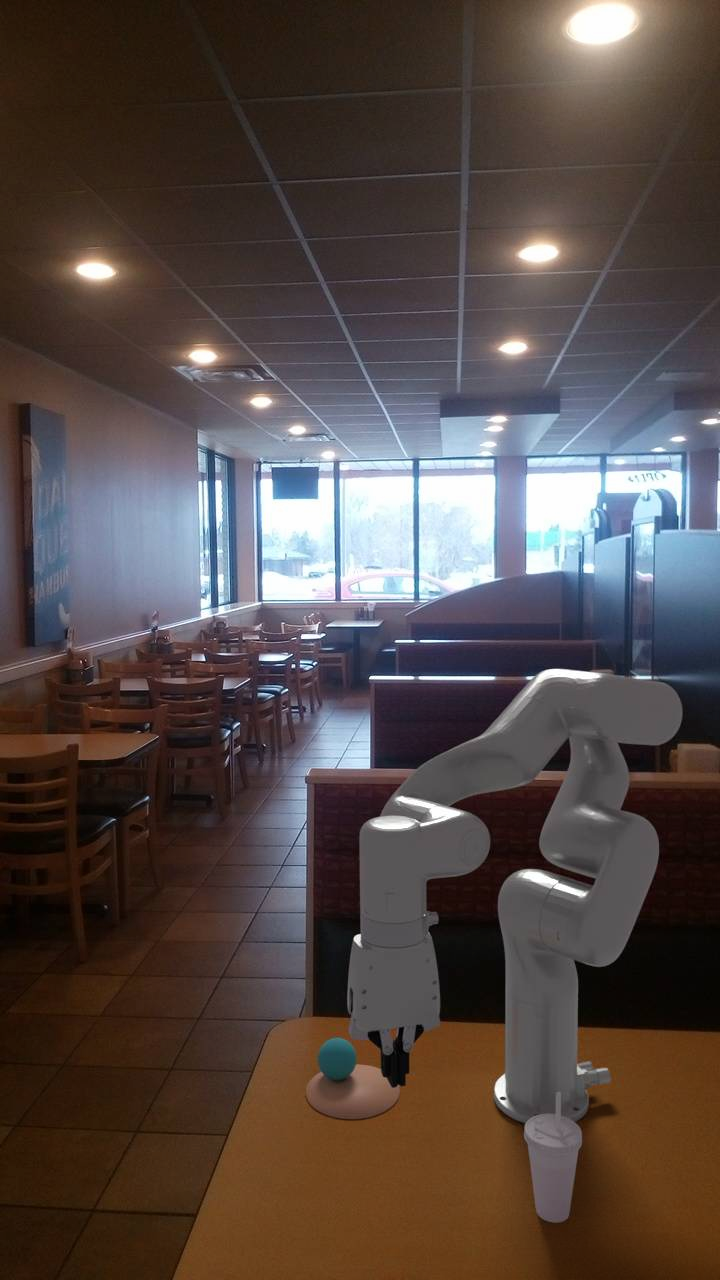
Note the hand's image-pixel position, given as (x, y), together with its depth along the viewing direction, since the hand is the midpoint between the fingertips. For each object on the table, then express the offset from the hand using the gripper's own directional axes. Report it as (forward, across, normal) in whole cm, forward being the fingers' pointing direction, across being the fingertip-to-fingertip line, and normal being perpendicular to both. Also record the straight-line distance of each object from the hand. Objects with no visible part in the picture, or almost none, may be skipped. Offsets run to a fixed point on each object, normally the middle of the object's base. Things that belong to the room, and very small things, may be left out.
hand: (395, 1080), depth 108 cm
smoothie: (+14, -16, +8) cm, 23 cm away
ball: (+11, +1, -25) cm, 27 cm away
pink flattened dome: (+13, 0, -21) cm, 25 cm away
